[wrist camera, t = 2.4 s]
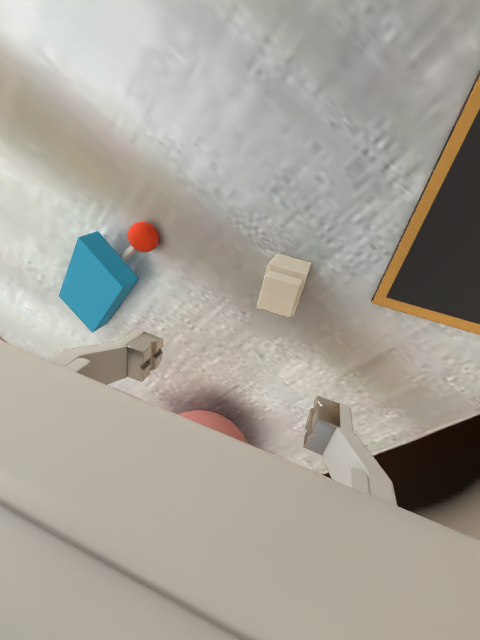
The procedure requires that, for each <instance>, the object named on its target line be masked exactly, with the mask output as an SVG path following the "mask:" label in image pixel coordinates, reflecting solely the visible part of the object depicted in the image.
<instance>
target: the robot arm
mask: <svg viewBox="0 0 480 640" xmlns="http://www.w3.org/2000/svg"><path fill="white" fill-rule="evenodd" d="M162 346H163V339H162V338H159V337H157V336H154V335H152V334H149V333H147V332H144V331H141V330H139V329H135V330H134V331H132V332H131V333H129V334H128V335H126V336H125V337H123V338H122V339H120V340H119V341H117V342H114V341H113V342H107V343H101V344H95V345H89V346H83V347H77V348H71V349H66V350H63V351H62V352H60V353H58V354H56V355H55V356H53V357H51V358H49V359H47V360H46V359H44V358H41V357H39V356H36V355H34V354H32V353H29V352H27V351H24V350H22V349H20V348H17V347H15V346H12V345H10V344H8V343H5V342H3V341H0V640H480V541H479V540H477V539H474V538H472V537H470V536H467V535H465V534H462V533H460V532H457V531H455V530H452V529H450V528H448V527H446V526H443V525H441V524H438V523H436V522H433V521H431V520H429V519H426V518H424V517H421V516H419V515H417V514H414V513H412V512H410V511H406V510H405V509H402V508H400V507H398V506H397V503H396V498H395V493H394V489H393V484H392V481H391V480H390V479H389V477H388V476H387V475H386V473H385V472H384V471H383V469H382V468H381V467H380V465H379V464H378V463H377V461H376V460H375V459H374V457H373V456H372V455H371V453H370V452H369V451H368V449H367V448H366V447H365V445H364V444H363V443H362V441H361V440H360V439H359V437H358V436H357V435H356V434H354V433H353V426H352V415H351V408H350V407H349V406H346V405H343V404H340V403H336V402H334V401H331V400H328V399H325V398H323V397H320V396H317V397H316V399H315V401H314V408H312V409H311V410H310V413H309V415H308V418H307V422H306V430H307V432H306V434H305V438H304V448H306V449H309V450H311V451H313V452H316V453H318V454H320V455H322V458H323V460H324V462H325V465H326V467H327V469H328V471H329V473H330V476H331V478H332V479H331V478H328V477H326V476H323V475H321V474H319V473H316V472H314V471H311V470H309V469H307V468H304V467H302V466H299V465H297V464H295V463H292V462H290V461H287V460H285V459H283V458H280V457H278V456H275V455H273V454H271V453H268V452H266V451H264V450H261V449H259V448H256V447H254V446H252V445H249V444H247V443H244V442H242V441H240V440H237V439H235V438H232V437H230V436H228V435H225V434H223V433H221V432H218V431H216V430H213V429H211V428H209V427H206V426H204V425H201V424H199V423H196V422H194V421H192V420H189V419H187V418H185V417H182V416H180V415H177V414H175V413H173V412H170V411H168V410H165V409H163V408H161V407H158V406H156V405H153V404H151V403H149V402H146V401H144V400H142V399H139V398H137V397H134V396H132V395H130V394H127V393H125V392H122V391H120V390H118V389H115V388H113V387H110V386H108V385H107V384H110V383H113V382H115V381H118V380H121V379H123V378H126V377H130V378H133V379H136V380H138V381H141V382H142V381H143V380H144V379H145V378H146V377H147V376H148V375H150V370H154V369H156V368H157V367H158V365H159V364H160V362H161V359H162V354H163V353H162V351H161V349H160V348H161V347H162Z"/></svg>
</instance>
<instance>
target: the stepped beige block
mask: <svg viewBox="0 0 480 640" xmlns="http://www.w3.org/2000/svg"><path fill="white" fill-rule="evenodd" d="M310 266H311V262H307V261H303V260H300V259H296V258H293V257H289V256H285V255H282V254H277V255H276V256H275V257H274V258H273V259H272V260H271V261H270V262H269V263H268V265H267V269H266V273H265V277H264V281H263V285H262V289H261V292H260V296H259V300H258V304H257V308H260V309H263V310H266V311H269V312H272V313H275V314H278V315H281V316H284V317H288V318H290V316H294V315H295V312H296V309H297V306H298V303H299V300H300V297H301V294H302V291H303V288H304V285H305V282H306V279H307V276H308V273H309V270H310Z"/></svg>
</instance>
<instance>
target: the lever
mask: <svg viewBox="0 0 480 640" xmlns="http://www.w3.org/2000/svg"><path fill="white" fill-rule="evenodd" d="M128 240H129V242H130V244H131V245H130V246H129V247H128V248H127V249H126V250H125V251H124V252H123V253H122V254H121V255H120V256H119V255H118V254H117V253H116V252H115V250H114V249H113V248H112V247H111V246H110V245H109V243H108V242H107V241H106V240H105V239H104V238H103V236H102V235H101V234H100V233H99V232H98V231H96V232H93V233H90V234H87V235H85V236H82V237H79V238H78V240H77V243H76V246H75V249H74V252H73V255H72V258H71V261H70V264H69V267H68V270H67V273H66V276H65V279H64V282H63V285H62V288H61V291H60V294H59V297H60V298H61V299H62V300H63V301H64V302H65V303H66V304H67V305H68V307H69V308H70V309H71V310H72V311H73V312H74V313H75V314H76V315H77V316H78V317H79V318H80V320H81V321H82V322H83V323H84V324H85V325H86V326H87V327H88V328H89V329H90V330H91V332H94V331H96V330H97V329H99V328H100V327H102V326H104V325H105V324H106V323H107V322H108V321H109V319H110V318H111V317H112V315H113V314H114V312H115V311H116V310H117V308H118V307H119V306H120V304H121V303H122V301H123V300H124V299H125V297H126V296H127V295H128V293H129V292H130V290H131V289H132V288H133V286H134V285H135V284H136V282H137V281H138V277H137V276H136V275H135V274H134V273H133V271H132V270H131V269H130V268H129V267H128V266H127V264H126V263H125V262H126V261H127V260H128V258H129V257H130V256H131V255H132V254H133V253H134V252H135V251H136V250H138V251H140V252H149V251H151V250H153V249H154V248H155V247H156V246H157V244H158V241H159V235H158V232H157V231H156V229H155V228H154V227H153V226H152V225H151V224H149V223H147V222H138V223H135V224H133V225H132V226H131V228H130V229H129V232H128Z"/></svg>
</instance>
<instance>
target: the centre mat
mask: <svg viewBox="0 0 480 640" xmlns="http://www.w3.org/2000/svg"><path fill="white" fill-rule="evenodd" d="M371 302H372V303H374V304H377V305H380V306H384V307H387V308H391V309H394V310H398V311H401V312H405V313H408V314H411V315H415V316H418V317H422V318H425V319H428V320H432V321H435V322H439V323H442V324H445V325H449V326H452V327H456V328H459V329H462V330H466V331H469V332H473V333H476V334H479V335H480V72H479V74H478V76H477V78H476V80H475V82H474V85H473V87H472V89H471V91H470V93H469V95H468V97H467V99H466V102H465V104H464V106H463V108H462V110H461V112H460V114H459V116H458V118H457V121H456V123H455V125H454V127H453V129H452V131H451V133H450V135H449V138H448V140H447V142H446V144H445V146H444V148H443V150H442V152H441V154H440V157H439V159H438V161H437V163H436V165H435V167H434V169H433V171H432V173H431V176H430V178H429V180H428V182H427V184H426V186H425V188H424V190H423V193H422V195H421V197H420V199H419V201H418V203H417V205H416V207H415V209H414V212H413V214H412V216H411V218H410V220H409V222H408V224H407V226H406V229H405V231H404V233H403V235H402V237H401V239H400V241H399V243H398V245H397V248H396V250H395V252H394V254H393V256H392V258H391V260H390V262H389V265H388V267H387V269H386V271H385V273H384V275H383V277H382V279H381V281H380V284H379V286H378V288H377V290H376V292H375V294H374V296H373V298H372V301H371Z"/></svg>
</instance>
